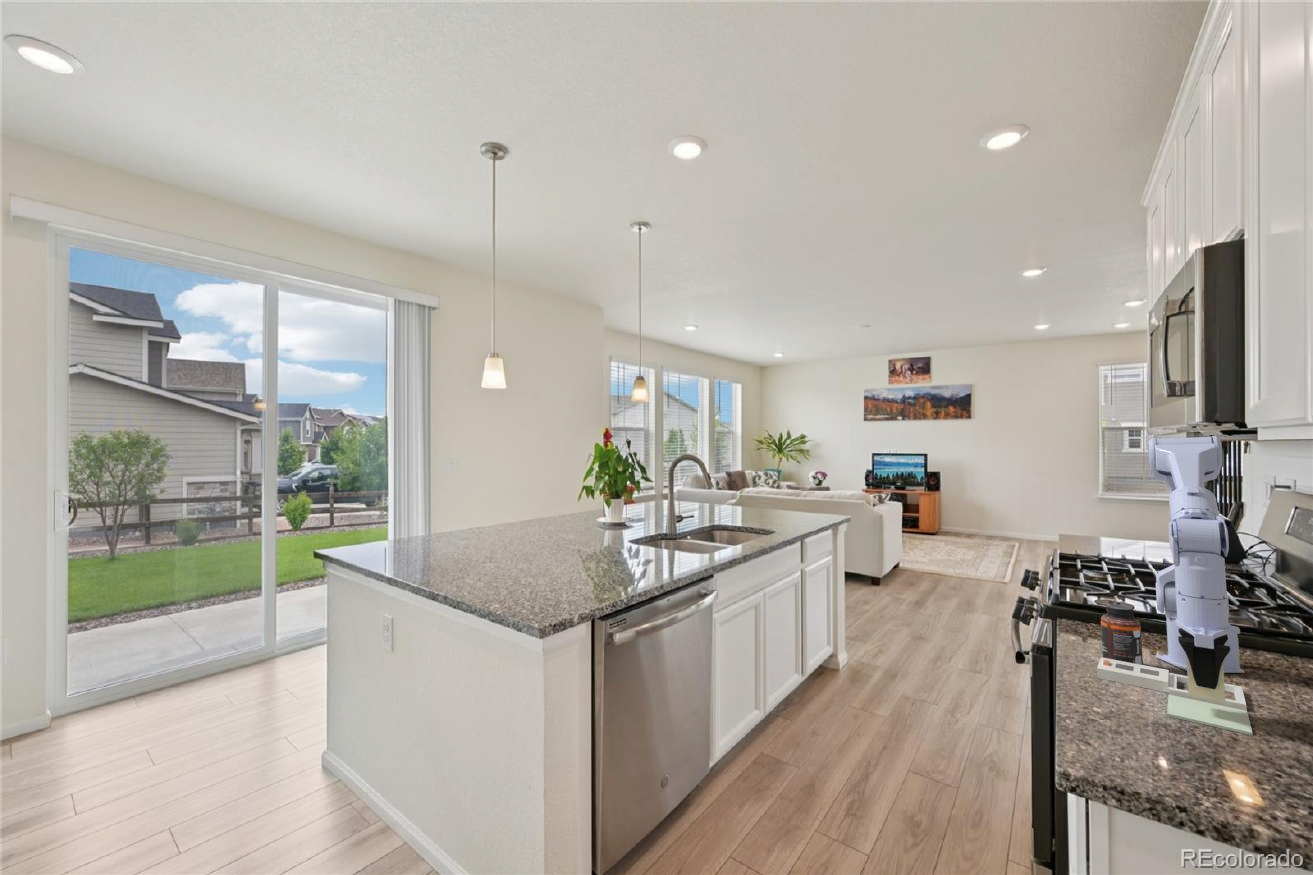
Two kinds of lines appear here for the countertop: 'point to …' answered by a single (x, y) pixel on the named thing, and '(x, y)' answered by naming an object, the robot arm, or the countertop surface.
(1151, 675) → the white slotted frame
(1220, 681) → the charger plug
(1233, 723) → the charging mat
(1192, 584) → the robot arm
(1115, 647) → the supplement bottle
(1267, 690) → the countertop surface
